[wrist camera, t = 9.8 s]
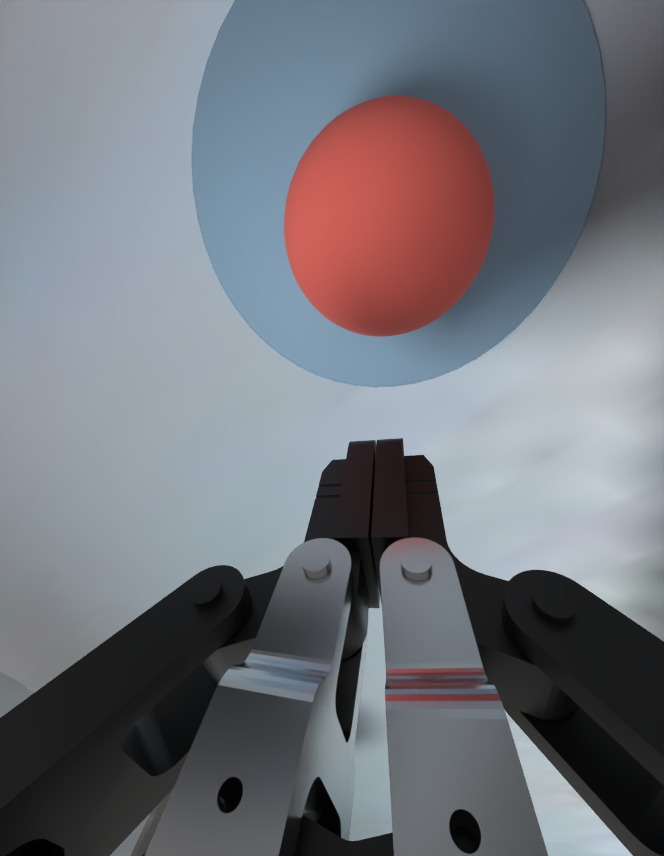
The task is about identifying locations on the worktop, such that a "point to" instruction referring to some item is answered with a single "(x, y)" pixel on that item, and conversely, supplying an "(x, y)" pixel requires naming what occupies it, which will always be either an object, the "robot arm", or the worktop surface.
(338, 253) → the ball
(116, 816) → the robot arm
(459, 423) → the worktop surface
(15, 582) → the worktop surface
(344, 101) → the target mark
